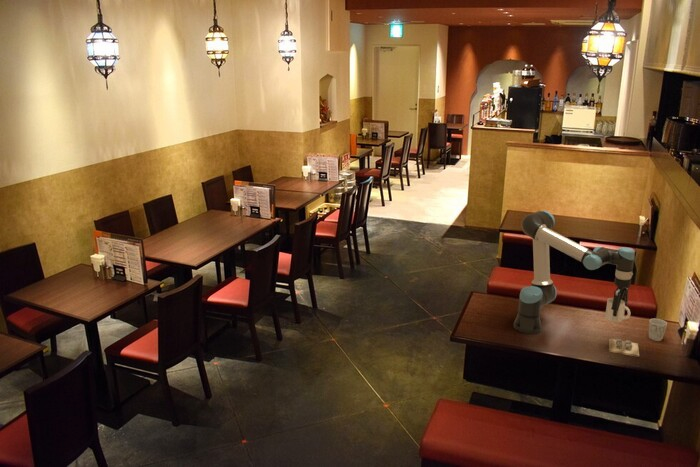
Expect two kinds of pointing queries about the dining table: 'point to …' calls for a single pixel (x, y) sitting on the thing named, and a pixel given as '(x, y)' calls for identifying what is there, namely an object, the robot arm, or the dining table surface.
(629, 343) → the peg stand
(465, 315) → the dining table surface
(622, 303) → the mug
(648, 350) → the dining table surface
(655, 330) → the mug
